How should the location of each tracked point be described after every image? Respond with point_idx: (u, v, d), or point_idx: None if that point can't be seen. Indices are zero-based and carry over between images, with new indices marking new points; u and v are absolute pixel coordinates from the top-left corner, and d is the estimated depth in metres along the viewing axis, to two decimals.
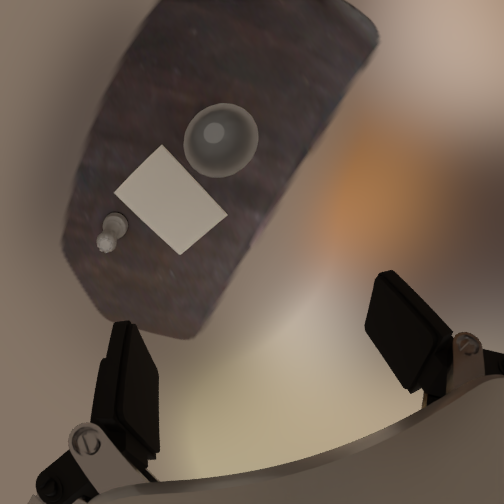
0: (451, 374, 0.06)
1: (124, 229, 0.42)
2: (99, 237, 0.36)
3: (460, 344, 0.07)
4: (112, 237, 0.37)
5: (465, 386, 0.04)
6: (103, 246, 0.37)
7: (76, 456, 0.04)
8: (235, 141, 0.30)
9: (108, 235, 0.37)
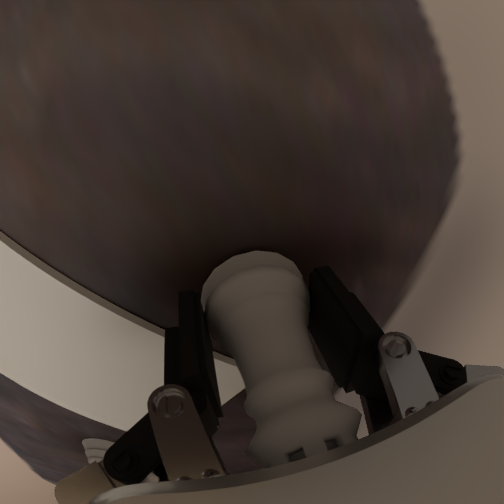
0: (389, 384, 0.06)
1: (212, 325, 0.10)
2: None
3: (388, 348, 0.07)
4: None
5: (465, 386, 0.04)
6: None
7: (159, 419, 0.06)
8: None
9: None
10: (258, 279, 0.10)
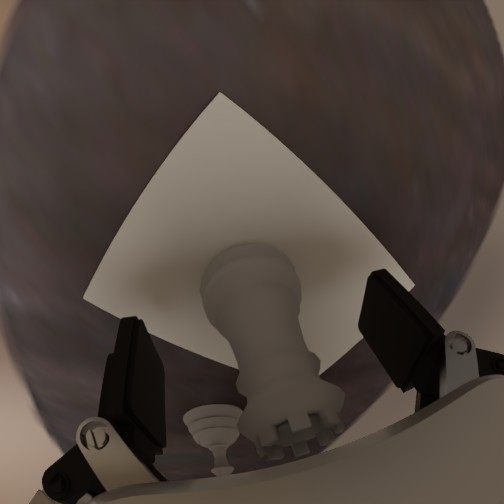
0: (444, 374, 0.06)
1: (209, 311, 0.11)
2: None
3: (452, 343, 0.07)
4: None
5: (465, 386, 0.04)
6: None
7: (84, 451, 0.04)
8: None
9: None
10: (252, 268, 0.10)
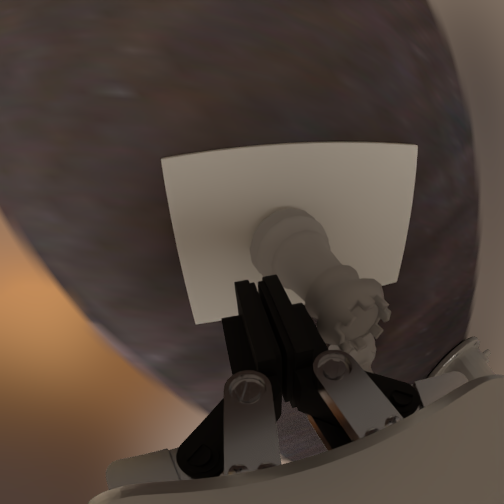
0: (337, 411, 0.06)
1: None
2: None
3: (325, 370, 0.07)
4: None
5: (465, 386, 0.04)
6: (363, 316, 0.10)
7: (240, 406, 0.06)
8: None
9: None
10: (273, 237, 0.14)
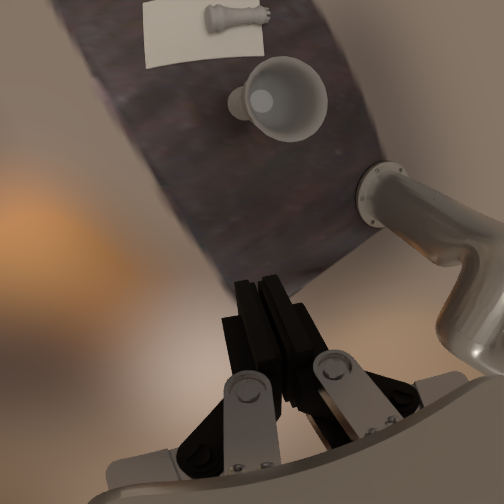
0: (338, 410, 0.06)
1: (225, 20, 0.25)
2: None
3: (325, 370, 0.07)
4: (263, 23, 0.27)
5: (465, 386, 0.04)
6: None
7: (240, 406, 0.06)
8: None
9: None
10: None
